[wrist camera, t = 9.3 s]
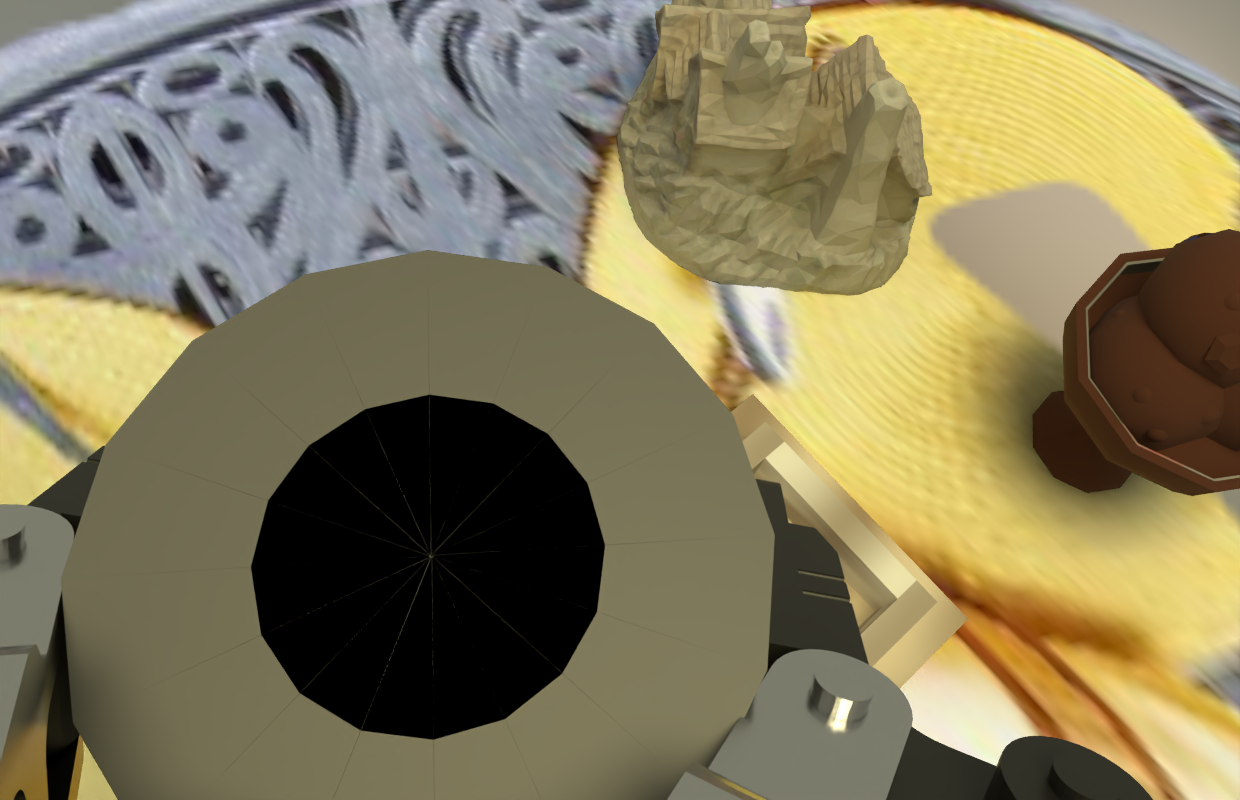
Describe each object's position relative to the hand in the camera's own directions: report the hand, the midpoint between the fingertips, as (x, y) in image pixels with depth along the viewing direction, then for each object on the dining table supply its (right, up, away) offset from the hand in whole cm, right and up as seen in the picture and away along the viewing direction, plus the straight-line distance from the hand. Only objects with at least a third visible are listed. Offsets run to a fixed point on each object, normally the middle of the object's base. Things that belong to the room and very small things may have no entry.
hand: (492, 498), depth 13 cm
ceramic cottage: (+10, +14, +41) cm, 45 cm away
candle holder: (-2, -10, +19) cm, 21 cm away
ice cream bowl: (+25, -1, +37) cm, 44 cm away
